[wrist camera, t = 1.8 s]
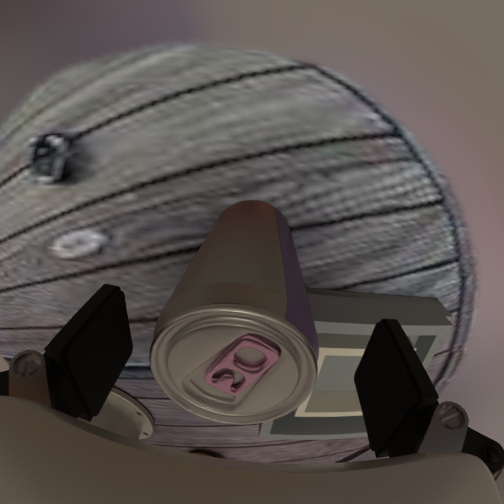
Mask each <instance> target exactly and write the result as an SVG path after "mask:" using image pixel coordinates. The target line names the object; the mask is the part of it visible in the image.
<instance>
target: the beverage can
mask: <svg viewBox="0 0 504 504" xmlns="http://www.w3.org/2000/svg"><path fill="white" fill-rule="evenodd" d="M318 357H319V341H318V337H317V332H316V328H315V324H314V320H313V316H312V311H311V307H310V303H309V299H308V295H307V291H306V287H305V283H304V280H303V276H302V272H301V268H300V264H299V261H298V257H297V253H296V249H295V246H294V242H293V238H292V235H291V231H290V228H289V225H288V223H287V221H286V219H285V217H284V216H283V215H282V214H281V213H280V212H279V211H278V210H277V209H276V208H274V207H273V206H271V205H269V204H267V203H264V202H261V201H252V200H251V201H243V202H239V203H236V204H234V205H232V206H230V207H229V208H228V209H226V210H225V211H224V212H223V213H222V214H221V216H220V217H219V219H218V220H217V222H216V223H215V225H214V226H213V228H212V230H211V231H210V233H209V234H208V236H207V237H206V239H205V241H204V242H203V244H202V246H201V247H200V249H199V250H198V252H197V254H196V255H195V257H194V259H193V260H192V262H191V263H190V265H189V267H188V268H187V270H186V272H185V273H184V275H183V277H182V278H181V280H180V282H179V283H178V285H177V287H176V289H175V290H174V292H173V294H172V295H171V297H170V299H169V300H168V302H167V304H166V306H165V307H164V309H163V311H162V313H161V314H160V316H159V318H158V320H157V323H156V326H155V331H154V339H153V341H152V344H151V348H150V356H149V358H150V367H151V370H152V373H153V376H154V378H155V380H156V382H157V384H158V385H159V387H160V388H161V389H162V391H163V392H164V393H165V394H166V395H167V396H168V397H169V398H170V399H171V400H172V401H174V402H175V403H176V404H177V405H179V406H180V407H182V408H183V409H185V410H187V411H189V412H191V413H193V414H195V415H197V416H200V417H202V418H205V419H208V420H212V421H216V422H220V423H227V424H257V423H263V422H267V421H271V420H274V419H277V418H280V417H282V416H284V415H286V414H288V413H290V412H292V411H293V410H295V409H296V408H297V407H299V406H300V405H301V404H302V403H303V402H304V401H305V400H306V399H307V398H308V396H309V395H310V393H311V392H312V390H313V388H314V386H315V383H316V380H317V374H318V366H317V361H318Z"/></svg>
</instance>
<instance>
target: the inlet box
mask: <svg viewBox="0 0 504 504" xmlns="http://www.w3.org/2000/svg"><path fill="white" fill-rule="evenodd" d="M306 291H307V295H308V299H309V303H310V307H311V311H312V316H313V320H314V324H315V328H316V332H317V337H318V341H319V357H318V361H317V366H318V374H317V380H316V383H315V386H314V388H313V390H312V392H311V393H310V395H309V396H308V398H307V399H306V400H305V401H304V402H303V403H302V404H301V405H300V406H299V407H297V408H296V409H295V410H293V411H292V412H290V413H288V414H286V415H284V416H282V417H280V418H277V419H274V420H271V421H267V422H263V423H259V438H268V439H294V440H317V439H342V438H356V437H367V436H368V435H367V430H366V426H365V422H364V418H363V414H362V410H361V406H360V402H359V398H358V394H357V390H356V387H355V383H354V374H355V371H356V369H357V367H358V365H359V363H360V360H361V358H362V356H363V354H364V351H365V349H366V347H367V344H368V342H369V340H370V337H371V335H372V332H373V330H374V327H375V325H376V323H377V322H380V321H381V320H382V319H383V318H384V319H397V320H398V321H399V323H400V325H401V327H402V328H403V330H404V332H405V334H406V335H407V337H408V339H409V341H410V342H411V344H412V346H413V348H414V350H415V351H416V353H417V355H418V357H419V359H420V361H421V363H422V365H423V366H424V368H425V370H426V368H427V367H428V365H429V363H430V361H431V359H432V358H433V356H434V354H435V352H436V350H437V348H438V346H439V344H440V342H441V340H442V338H443V336H444V335H449V333H450V331H451V329H452V326H453V325H452V324H451V322H450V321H451V319H452V317H453V316H452V315H451V314H450V313H449V312H448V310H447V309H446V308H445V307H444V306H443V305H442V304H441V303H440V302H439V301H438V299H437V298H426V297H411V296H397V295H383V294H370V293H358V292H347V291H335V290H325V289H314V288H306Z"/></svg>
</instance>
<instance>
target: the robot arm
mask: <svg viewBox="0 0 504 504" xmlns="http://www.w3.org/2000/svg"><path fill="white" fill-rule="evenodd" d="M132 350H133V344H132V339H131V333H130V328H129V322H128V316H127V309H126V302H125V295H124V292H123V291H121V289H120V287H118V286H114V285H109V284H104V285H103V286H102V287H101V288H100V289H99V290H98V291H97V292H96V293H95V294H94V295H93V296H92V297H91V298H90V299H89V300H88V301H87V302H86V303H85V304H84V305H83V306H82V308H81V309H80V310H79V311H78V312H77V313H76V314H75V315H74V316H73V317H72V318H71V319H70V320H69V322H68V323H67V324H66V325H65V326H64V327H63V328H62V329H61V330H60V332H59V333H58V334H57V335H56V336H55V337H54V338H53V339H52V341H51V342H50V343H49V344H48V345H47V346H46V348H45V351H46V352H45V353H44V354H43V355H42V354H41V353H39V352H38V351H35V350H25V351H22V352H20V353H18V354H17V355H16V356H15V357H13V359H12V360H11V362H10V365H9V370H7V371H3V372H0V504H504V450H503V448H502V446H501V445H500V444H499V443H497V442H496V441H494V440H492V439H490V438H488V437H486V436H484V435H482V434H480V433H479V432H477V431H475V430H473V429H471V428H469V427H468V423H469V419H468V415H467V413H466V412H465V410H464V409H463V408H462V407H461V406H460V405H458V404H457V403H454V402H450V401H445V402H442V403H440V404H439V403H438V401H437V399H438V398H439V396H438V394H437V392H436V390H435V388H434V386H433V384H432V382H431V380H430V378H429V376H428V374H427V372H426V370H425V368H424V366H423V365H422V363H421V361H420V359H419V357H418V355H417V353H416V351H415V350H414V348H413V346H412V344H411V342H410V341H409V339H408V337H407V335H406V334H405V332H404V330H403V328H402V327H401V325H400V323H399V321H398V320H397V319H384V318H383V319H382V320H381V321H380V322H377V323H376V325H375V327H374V330H373V332H372V335H371V337H370V340H369V342H368V344H367V347H366V349H365V351H364V354H363V356H362V358H361V360H360V363H359V365H358V367H357V369H356V371H355V374H354V383H355V387H356V390H357V394H358V398H359V402H360V406H361V410H362V414H363V418H364V422H365V426H366V430H367V435H368V439H369V444H370V448H371V450H372V451H375V455H376V458H380V457H386V456H389V457H390V458H385V459H377V460H368V461H357V462H346V463H329V464H278V463H261V462H249V461H239V460H231V459H223V458H216V457H210V456H204V455H198V454H193V453H188V452H183V451H178V450H174V449H169V448H165V447H161V446H157V445H153V444H150V443H146V442H142V441H139V440H138V439H145V438H148V437H150V436H151V435H152V433H153V430H154V426H155V424H154V420H153V418H152V417H151V415H150V414H149V412H148V411H147V410H146V409H145V408H144V407H143V406H142V405H141V404H140V403H139V402H137V401H136V400H135V399H134V398H132V397H131V396H129V395H128V394H126V393H124V392H122V391H121V390H119V389H117V388H114V387H113V386H114V384H115V382H116V381H117V379H118V377H119V375H120V373H121V372H122V370H123V368H124V366H125V364H126V363H127V361H128V359H129V357H130V356H131V354H132Z"/></svg>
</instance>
